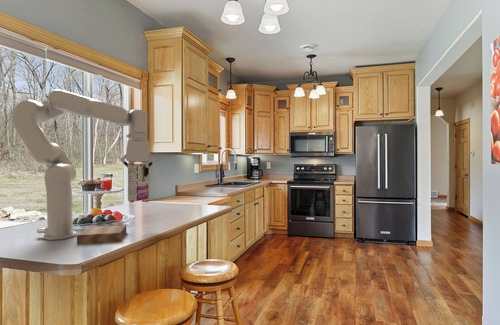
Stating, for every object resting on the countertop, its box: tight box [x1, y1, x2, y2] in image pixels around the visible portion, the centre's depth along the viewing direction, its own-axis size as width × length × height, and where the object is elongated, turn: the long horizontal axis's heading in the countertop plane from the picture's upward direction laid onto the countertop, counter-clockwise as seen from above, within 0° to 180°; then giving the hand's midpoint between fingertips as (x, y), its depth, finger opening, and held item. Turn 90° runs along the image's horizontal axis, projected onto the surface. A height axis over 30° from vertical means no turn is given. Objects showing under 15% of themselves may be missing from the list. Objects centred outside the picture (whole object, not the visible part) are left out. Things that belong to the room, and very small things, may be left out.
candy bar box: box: [127, 163, 149, 202], centre depth 152 cm, size 11×5×16 cm, turn 171°
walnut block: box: [76, 224, 127, 245], centre depth 141 cm, size 16×16×4 cm
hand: (138, 176), depth 152 cm, fingers closed on candy bar box, 6 cm apart
